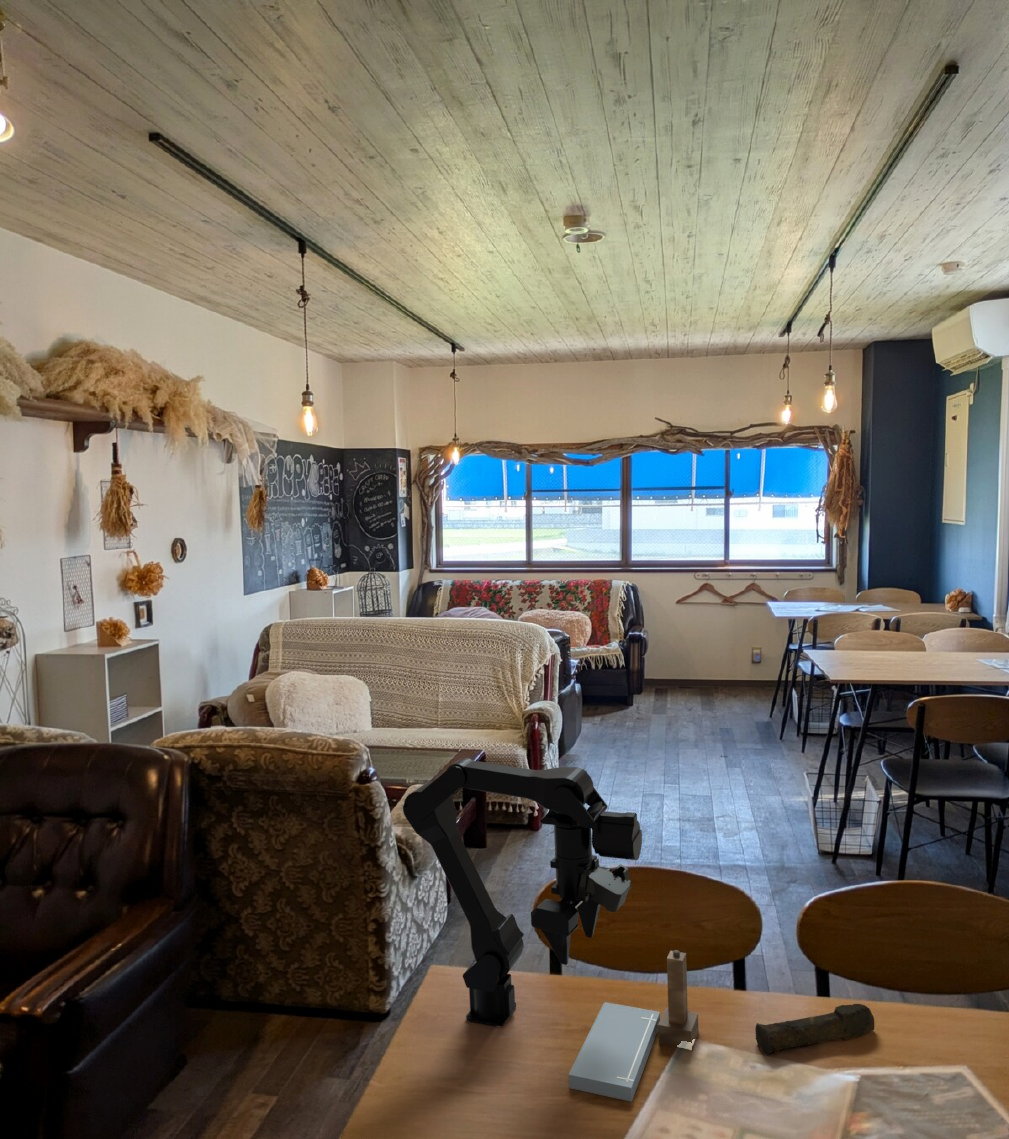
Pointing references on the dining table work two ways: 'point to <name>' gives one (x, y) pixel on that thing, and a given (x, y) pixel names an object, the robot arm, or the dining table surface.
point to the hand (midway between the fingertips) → (577, 950)
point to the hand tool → (816, 1028)
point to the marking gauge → (677, 1005)
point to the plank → (615, 1051)
